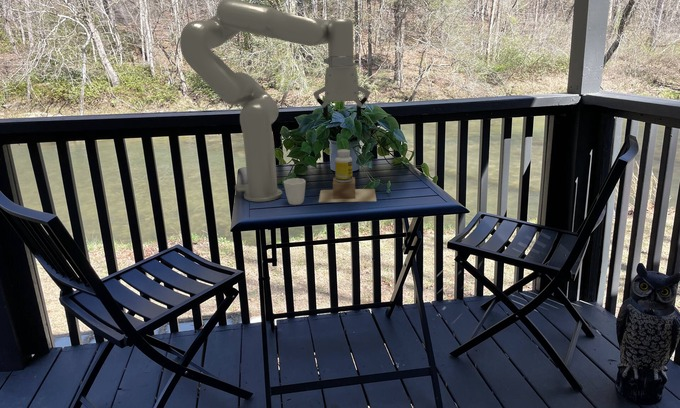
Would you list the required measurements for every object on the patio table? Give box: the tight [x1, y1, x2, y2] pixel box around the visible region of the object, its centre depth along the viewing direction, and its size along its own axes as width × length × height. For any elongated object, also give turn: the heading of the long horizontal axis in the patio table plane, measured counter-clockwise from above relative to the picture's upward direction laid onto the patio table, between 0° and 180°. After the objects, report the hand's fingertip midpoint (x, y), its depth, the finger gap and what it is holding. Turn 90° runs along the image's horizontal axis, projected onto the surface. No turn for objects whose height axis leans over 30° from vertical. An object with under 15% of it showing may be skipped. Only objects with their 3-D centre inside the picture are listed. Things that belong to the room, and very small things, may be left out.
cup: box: [283, 177, 307, 206], centre depth 164 cm, size 7×10×8 cm
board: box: [318, 188, 377, 203], centre depth 170 cm, size 18×13×1 cm
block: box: [332, 176, 356, 199], centre depth 169 cm, size 7×7×5 cm
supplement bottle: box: [334, 148, 353, 182], centre depth 167 cm, size 5×5×10 cm
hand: (342, 119), depth 163 cm, fingers open, 9 cm apart
